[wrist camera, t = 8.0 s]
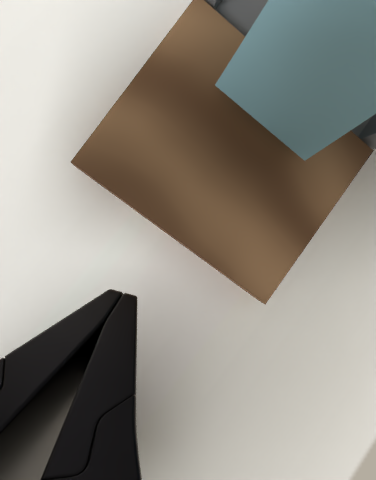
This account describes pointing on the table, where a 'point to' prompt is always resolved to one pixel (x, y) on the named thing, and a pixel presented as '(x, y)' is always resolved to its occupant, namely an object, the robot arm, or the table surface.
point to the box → (242, 18)
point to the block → (307, 70)
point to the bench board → (214, 160)
